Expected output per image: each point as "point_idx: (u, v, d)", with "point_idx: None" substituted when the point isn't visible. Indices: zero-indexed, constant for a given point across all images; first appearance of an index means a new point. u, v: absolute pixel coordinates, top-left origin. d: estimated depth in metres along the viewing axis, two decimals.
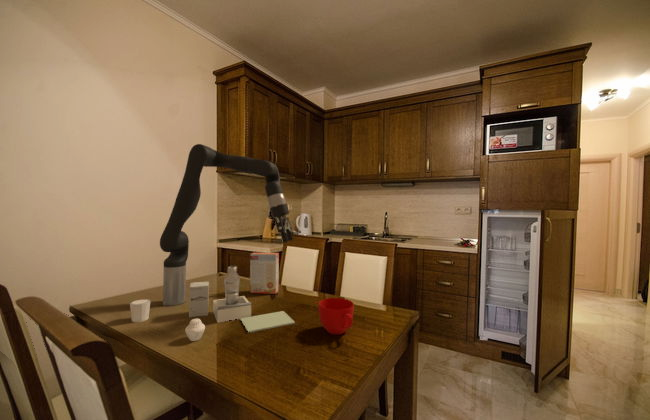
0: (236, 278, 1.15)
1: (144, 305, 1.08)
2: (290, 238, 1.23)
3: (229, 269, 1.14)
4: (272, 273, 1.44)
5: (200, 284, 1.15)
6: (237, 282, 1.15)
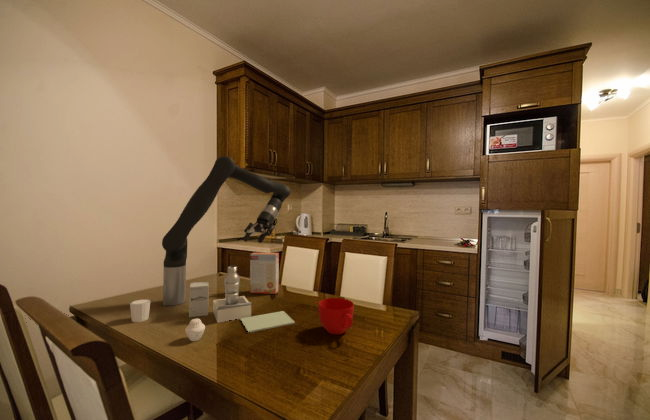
0: (236, 278, 1.15)
1: (144, 305, 1.08)
2: (246, 239, 1.29)
3: (229, 269, 1.14)
4: (272, 273, 1.44)
5: (200, 284, 1.15)
6: (237, 282, 1.15)
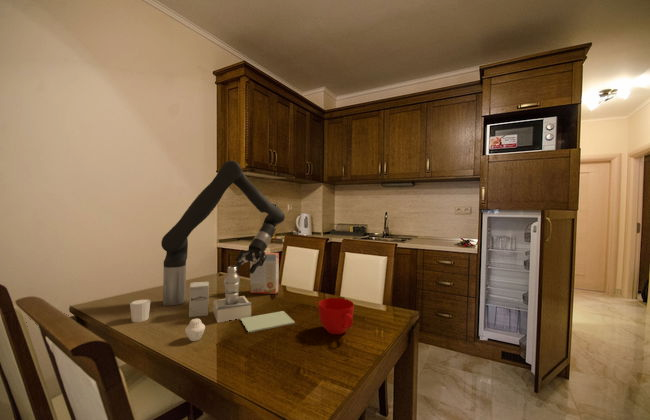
0: (236, 278, 1.15)
1: (144, 305, 1.08)
2: (237, 269, 1.24)
3: (229, 269, 1.14)
4: (272, 273, 1.44)
5: (200, 284, 1.15)
6: (237, 282, 1.15)
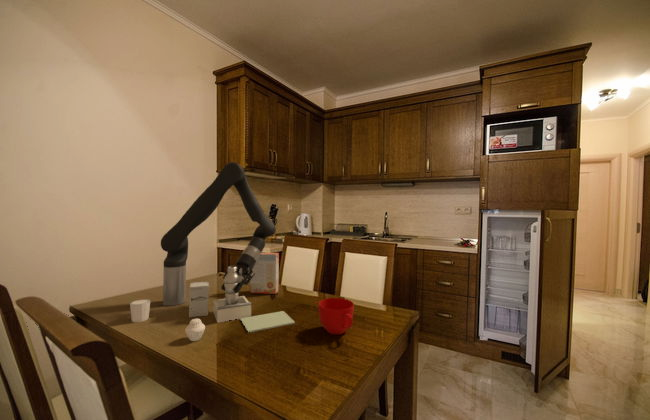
0: (236, 278, 1.15)
1: (144, 305, 1.08)
2: None
3: (229, 269, 1.14)
4: (272, 273, 1.44)
5: (200, 284, 1.15)
6: (237, 282, 1.15)
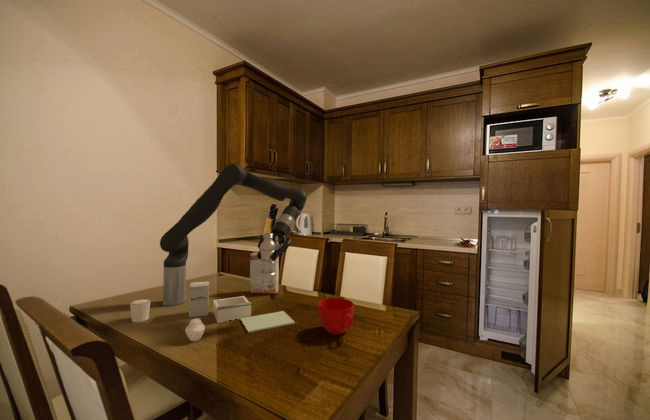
0: (273, 245, 1.08)
1: (144, 305, 1.08)
2: (260, 256, 1.10)
3: (266, 235, 1.07)
4: None
5: (200, 284, 1.15)
6: (274, 249, 1.08)
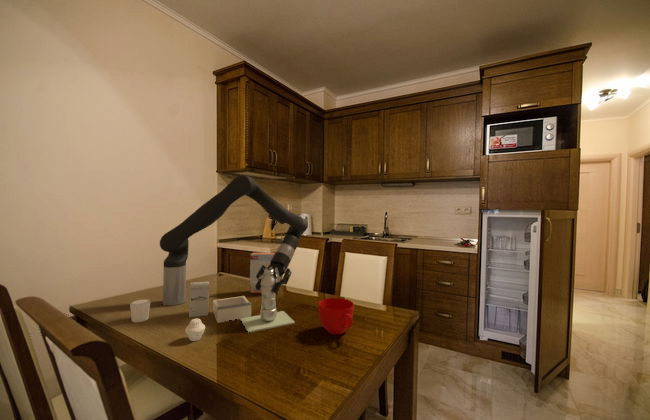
0: (274, 282, 1.08)
1: (144, 305, 1.08)
2: (259, 287, 1.10)
3: (266, 272, 1.07)
4: None
5: (200, 284, 1.15)
6: None
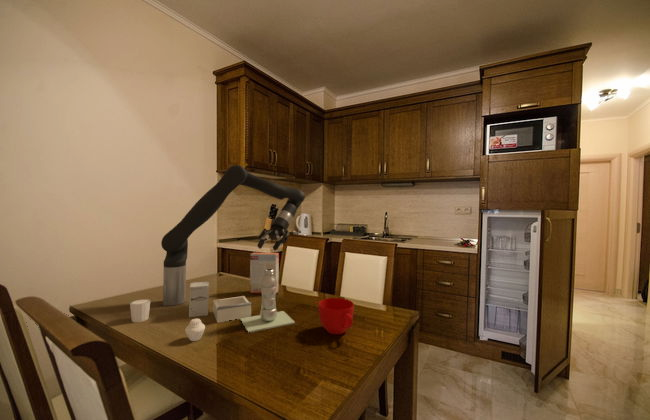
0: (274, 282, 1.08)
1: (144, 305, 1.08)
2: (260, 246, 1.25)
3: (266, 272, 1.07)
4: None
5: (200, 284, 1.15)
6: (275, 286, 1.08)
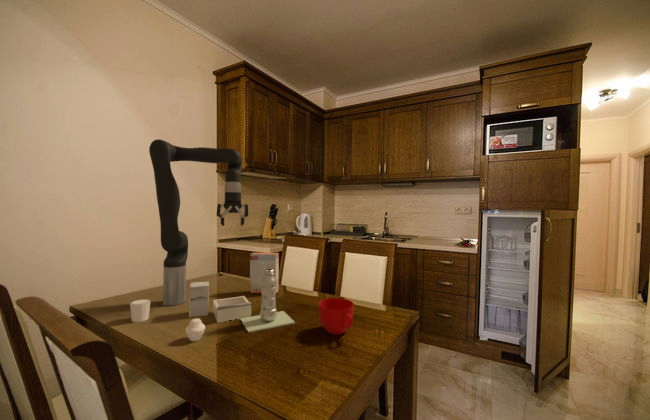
0: (274, 282, 1.08)
1: (144, 305, 1.08)
2: (223, 223, 1.31)
3: (266, 272, 1.07)
4: None
5: (200, 284, 1.15)
6: (275, 286, 1.08)
